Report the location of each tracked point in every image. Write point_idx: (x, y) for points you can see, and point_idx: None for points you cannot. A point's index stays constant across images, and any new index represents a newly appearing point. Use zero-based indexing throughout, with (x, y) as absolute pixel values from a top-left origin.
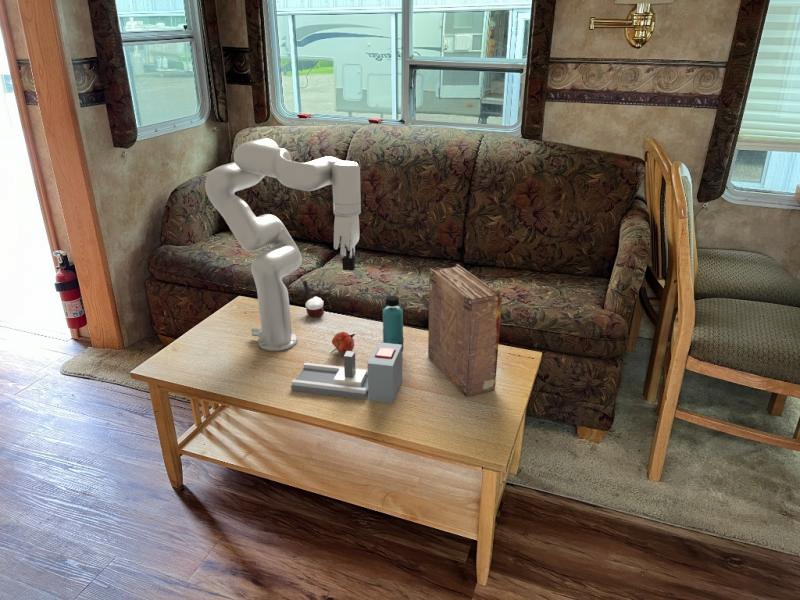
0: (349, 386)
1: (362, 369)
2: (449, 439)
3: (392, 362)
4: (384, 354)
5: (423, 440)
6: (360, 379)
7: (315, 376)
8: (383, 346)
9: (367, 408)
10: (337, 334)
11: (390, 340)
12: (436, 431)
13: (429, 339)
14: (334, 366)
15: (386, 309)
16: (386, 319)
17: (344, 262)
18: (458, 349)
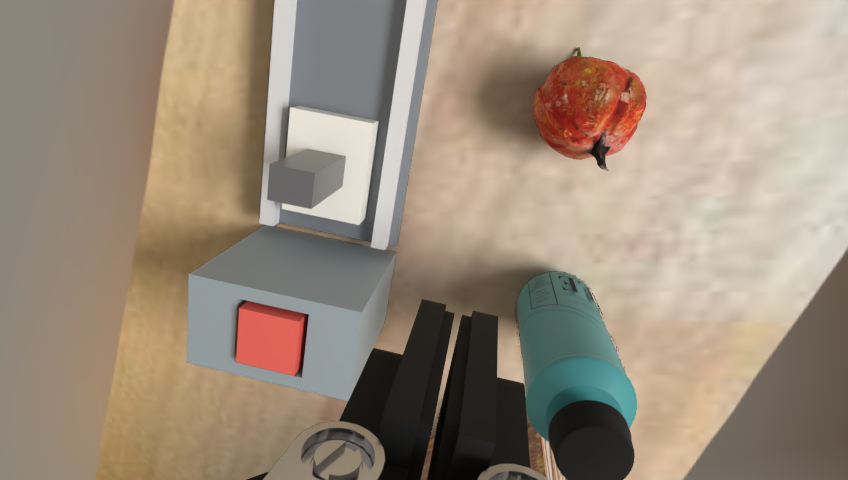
0: None
1: (388, 204)
2: (138, 417)
3: (210, 363)
4: (248, 339)
5: (121, 362)
6: (299, 207)
7: (355, 20)
8: (327, 332)
9: (224, 223)
10: (592, 85)
11: (521, 323)
12: (160, 393)
13: (533, 456)
14: (405, 93)
15: (566, 387)
16: (537, 360)
17: (353, 393)
18: None
